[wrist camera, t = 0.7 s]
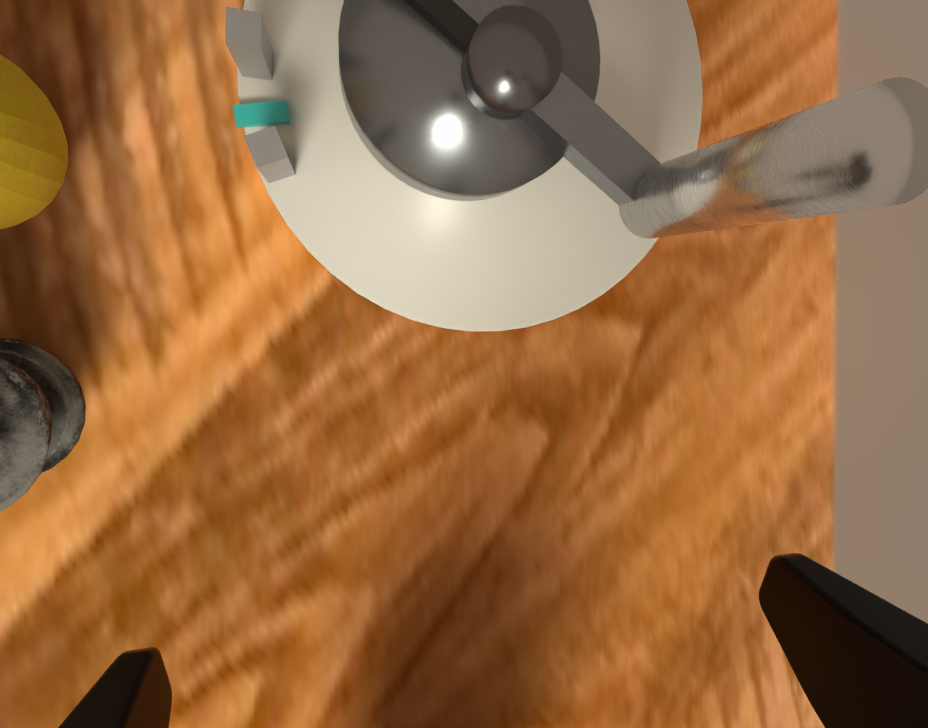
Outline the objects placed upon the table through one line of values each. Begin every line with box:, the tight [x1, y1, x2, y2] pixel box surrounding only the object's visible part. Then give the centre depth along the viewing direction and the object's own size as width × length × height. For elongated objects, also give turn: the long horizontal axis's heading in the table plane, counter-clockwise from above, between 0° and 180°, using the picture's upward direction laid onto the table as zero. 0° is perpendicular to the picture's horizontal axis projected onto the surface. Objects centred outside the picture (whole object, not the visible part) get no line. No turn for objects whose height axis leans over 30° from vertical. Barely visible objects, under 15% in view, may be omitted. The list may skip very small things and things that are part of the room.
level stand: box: [226, 0, 703, 331], centre depth 21 cm, size 18×18×4 cm
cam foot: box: [338, 0, 928, 239], centre depth 16 cm, size 13×11×12 cm
